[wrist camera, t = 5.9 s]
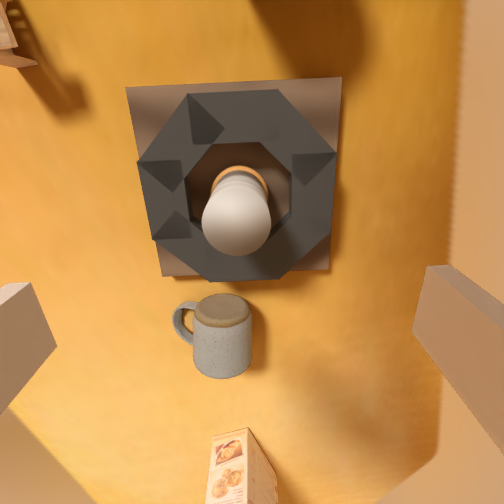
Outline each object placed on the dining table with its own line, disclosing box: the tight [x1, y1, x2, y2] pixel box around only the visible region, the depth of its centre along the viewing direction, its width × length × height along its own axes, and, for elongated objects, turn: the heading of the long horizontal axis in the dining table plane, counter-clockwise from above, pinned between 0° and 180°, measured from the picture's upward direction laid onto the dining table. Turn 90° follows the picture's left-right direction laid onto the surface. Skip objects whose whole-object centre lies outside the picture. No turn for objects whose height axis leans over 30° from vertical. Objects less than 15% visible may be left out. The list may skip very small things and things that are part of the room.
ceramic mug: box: [172, 294, 252, 379], centre depth 37 cm, size 11×8×8 cm
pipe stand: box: [125, 77, 342, 277], centre depth 27 cm, size 20×20×13 cm
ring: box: [137, 89, 337, 283], centre depth 29 cm, size 18×18×2 cm
